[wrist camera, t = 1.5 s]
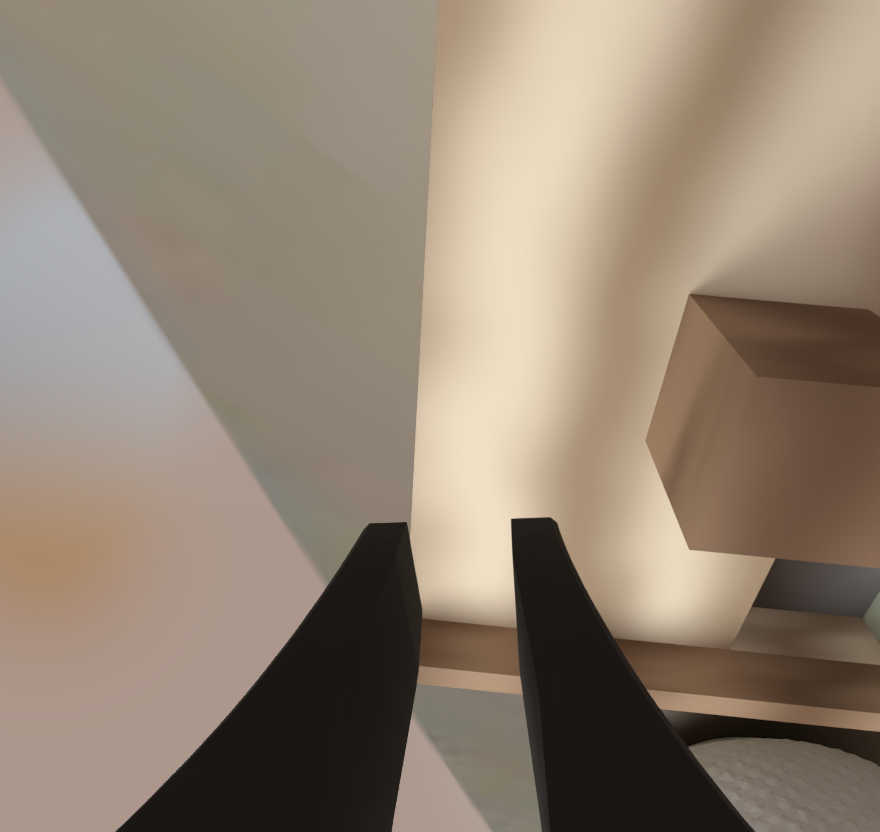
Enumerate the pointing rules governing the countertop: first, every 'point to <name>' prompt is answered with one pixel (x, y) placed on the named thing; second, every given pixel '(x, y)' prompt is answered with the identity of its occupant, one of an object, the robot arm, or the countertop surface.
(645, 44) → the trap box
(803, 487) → the walnut block
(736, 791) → the cereal bowl
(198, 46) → the countertop surface
